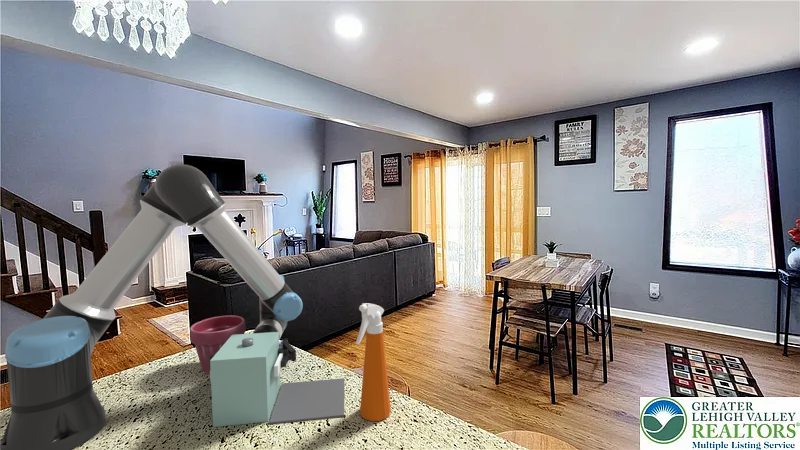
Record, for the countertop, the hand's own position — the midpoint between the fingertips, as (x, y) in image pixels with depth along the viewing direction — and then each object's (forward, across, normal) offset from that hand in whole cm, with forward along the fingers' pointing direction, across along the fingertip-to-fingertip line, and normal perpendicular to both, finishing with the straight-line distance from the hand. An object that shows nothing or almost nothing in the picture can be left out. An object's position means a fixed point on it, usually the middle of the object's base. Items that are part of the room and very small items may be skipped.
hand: (244, 374), depth 77 cm
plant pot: (-25, +14, -9) cm, 30 cm away
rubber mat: (-3, -14, -9) cm, 17 cm away
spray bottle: (+6, -28, -9) cm, 30 cm away
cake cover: (-3, 0, -9) cm, 10 cm away
